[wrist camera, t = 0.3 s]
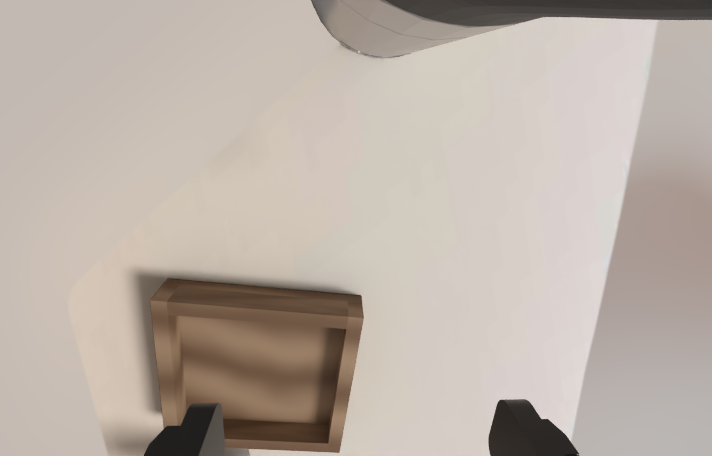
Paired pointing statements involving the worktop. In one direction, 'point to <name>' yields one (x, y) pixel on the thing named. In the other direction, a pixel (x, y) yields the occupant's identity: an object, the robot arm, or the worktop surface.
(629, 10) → the robot arm
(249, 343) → the walnut tray
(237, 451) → the salt shaker
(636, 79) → the worktop surface
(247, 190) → the worktop surface
